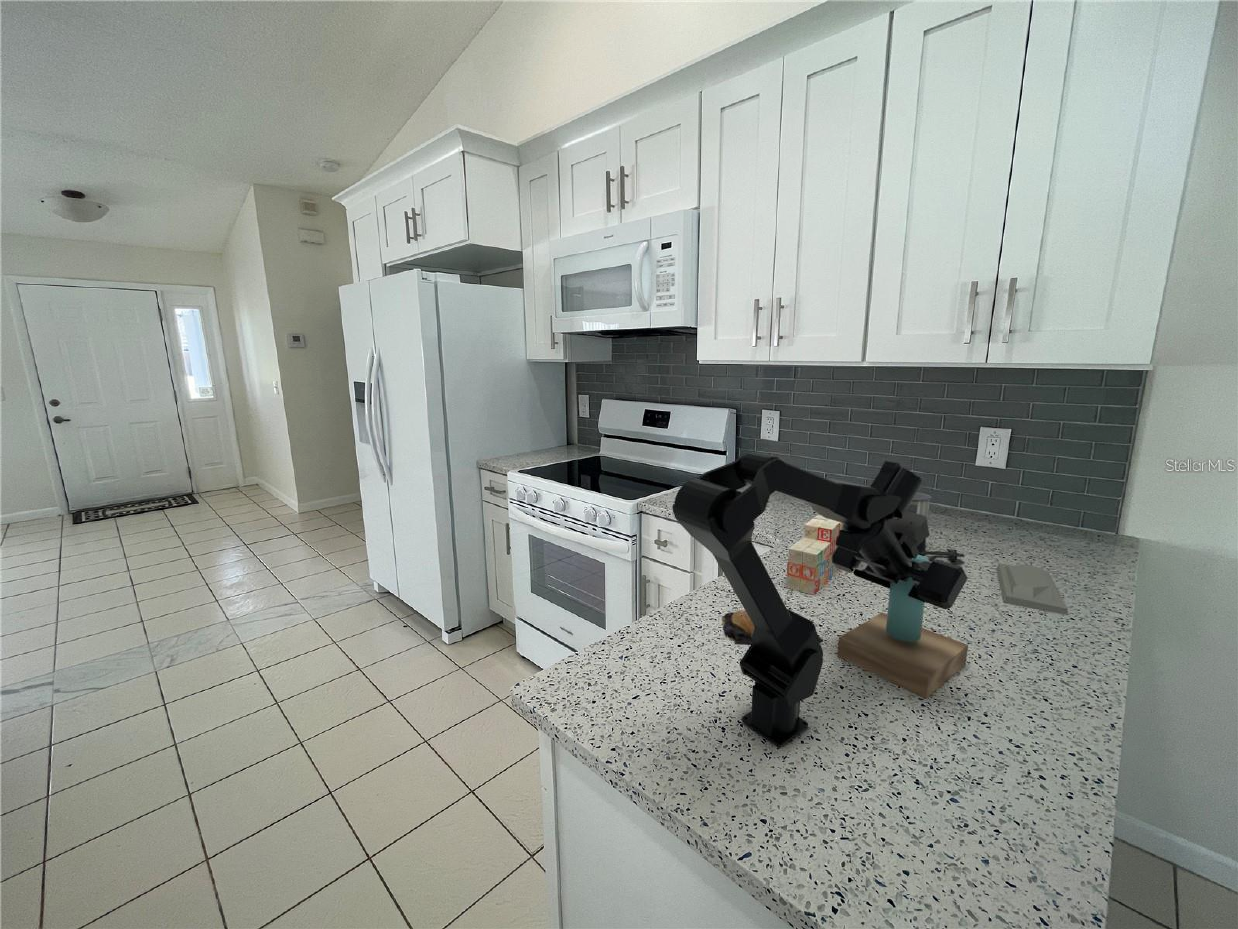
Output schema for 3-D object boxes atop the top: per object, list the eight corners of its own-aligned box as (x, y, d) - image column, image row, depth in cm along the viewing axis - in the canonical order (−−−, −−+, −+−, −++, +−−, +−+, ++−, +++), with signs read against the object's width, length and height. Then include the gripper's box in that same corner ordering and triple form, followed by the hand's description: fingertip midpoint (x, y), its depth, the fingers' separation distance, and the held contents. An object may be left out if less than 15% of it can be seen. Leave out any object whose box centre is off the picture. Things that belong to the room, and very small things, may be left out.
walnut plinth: (926, 698, 76) (928, 677, 76) (837, 656, 87) (838, 637, 87) (965, 664, 84) (968, 645, 84) (880, 630, 95) (881, 612, 95)
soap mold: (1001, 605, 105) (1004, 589, 105) (994, 571, 122) (996, 557, 121) (1067, 618, 100) (1070, 601, 99) (1051, 580, 117) (1053, 565, 116)
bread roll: (718, 619, 102) (718, 601, 101) (762, 619, 102) (762, 601, 101) (728, 648, 91) (728, 629, 91) (776, 648, 91) (777, 628, 90)
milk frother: (881, 543, 140) (886, 489, 137) (947, 547, 136) (953, 492, 133) (895, 563, 126) (901, 504, 123) (969, 568, 123) (976, 507, 120)
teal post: (921, 644, 82) (930, 566, 79) (886, 637, 84) (893, 561, 81) (919, 629, 86) (927, 555, 84) (885, 623, 88) (892, 550, 86)
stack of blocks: (814, 596, 110) (817, 540, 107) (785, 588, 114) (788, 534, 111) (845, 565, 126) (848, 516, 123) (819, 559, 130) (822, 511, 127)
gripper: (969, 513, 70) (998, 572, 78) (847, 486, 86) (882, 537, 94) (930, 581, 68) (964, 635, 76) (812, 540, 84) (851, 588, 92)
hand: (911, 594), depth 84 cm, fingers closed on teal post, 5 cm apart
